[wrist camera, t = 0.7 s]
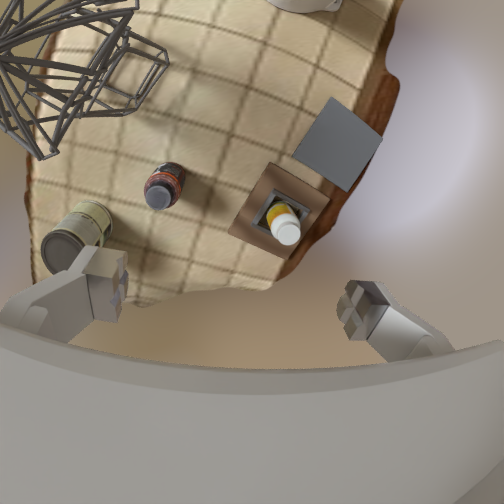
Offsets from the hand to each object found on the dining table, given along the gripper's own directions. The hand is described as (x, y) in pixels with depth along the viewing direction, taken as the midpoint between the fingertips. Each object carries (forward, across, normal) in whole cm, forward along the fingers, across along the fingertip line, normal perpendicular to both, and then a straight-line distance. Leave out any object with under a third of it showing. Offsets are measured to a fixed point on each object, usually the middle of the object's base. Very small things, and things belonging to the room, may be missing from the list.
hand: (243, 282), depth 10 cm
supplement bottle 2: (+42, -14, +13) cm, 46 cm away
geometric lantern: (+42, +19, -10) cm, 47 cm away
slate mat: (+42, -22, -4) cm, 47 cm away
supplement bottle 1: (+42, +8, +9) cm, 44 cm away
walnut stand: (+42, -14, +13) cm, 46 cm away
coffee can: (+42, +24, +21) cm, 53 cm away
